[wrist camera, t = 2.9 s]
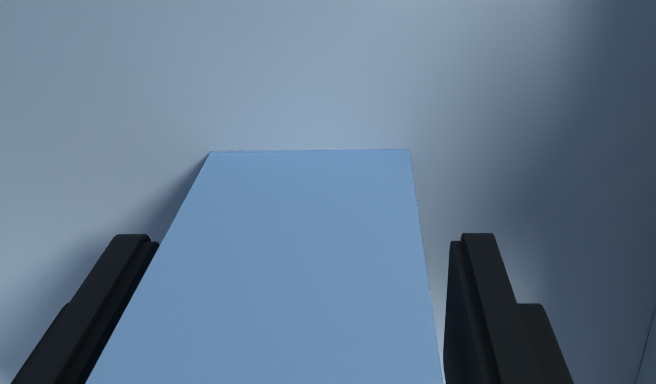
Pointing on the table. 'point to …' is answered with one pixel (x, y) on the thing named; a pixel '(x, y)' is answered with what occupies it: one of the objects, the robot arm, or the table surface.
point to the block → (285, 278)
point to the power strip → (649, 358)
